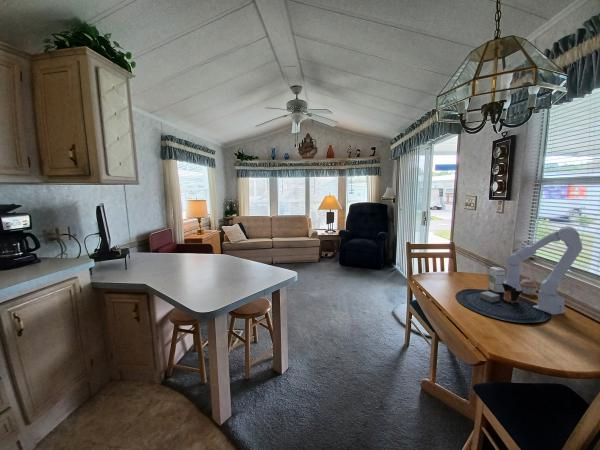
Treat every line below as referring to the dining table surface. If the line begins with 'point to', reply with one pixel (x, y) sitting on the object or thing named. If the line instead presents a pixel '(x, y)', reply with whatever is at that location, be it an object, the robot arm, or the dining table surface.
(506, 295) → the terracotta cube
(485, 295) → the slate slab block
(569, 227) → the robot arm
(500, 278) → the syrup box
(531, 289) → the cupcake
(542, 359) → the dining table surface
